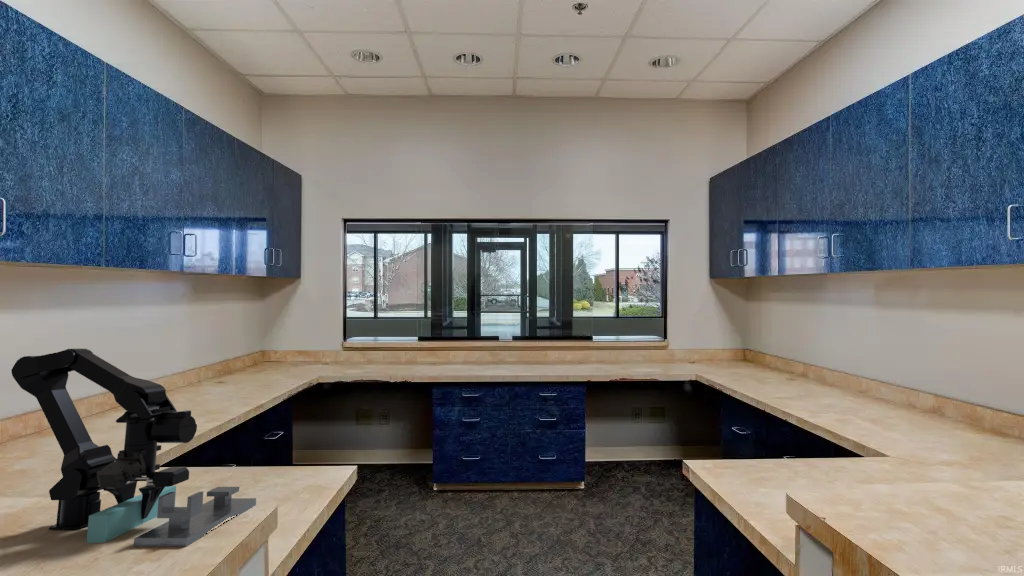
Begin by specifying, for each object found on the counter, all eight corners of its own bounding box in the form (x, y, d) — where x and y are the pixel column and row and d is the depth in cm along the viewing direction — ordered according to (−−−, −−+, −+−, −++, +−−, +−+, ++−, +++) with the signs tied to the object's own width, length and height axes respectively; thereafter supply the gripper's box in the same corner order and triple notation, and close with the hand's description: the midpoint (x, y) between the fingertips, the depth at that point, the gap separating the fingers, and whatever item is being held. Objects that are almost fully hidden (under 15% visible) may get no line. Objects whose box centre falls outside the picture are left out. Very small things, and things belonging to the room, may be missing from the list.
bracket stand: (133, 546, 91) (137, 502, 92) (214, 504, 115) (216, 470, 116) (185, 546, 91) (188, 502, 92) (255, 504, 114) (257, 469, 115)
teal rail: (86, 543, 93) (88, 515, 94) (159, 508, 113) (161, 486, 113) (104, 542, 93) (107, 515, 94) (174, 508, 113) (176, 485, 114)
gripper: (64, 451, 97) (56, 533, 95) (155, 451, 97) (149, 533, 95) (110, 440, 108) (104, 513, 106) (193, 440, 108) (188, 513, 106)
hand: (135, 518), depth 103 cm, fingers closed on teal rail, 4 cm apart
